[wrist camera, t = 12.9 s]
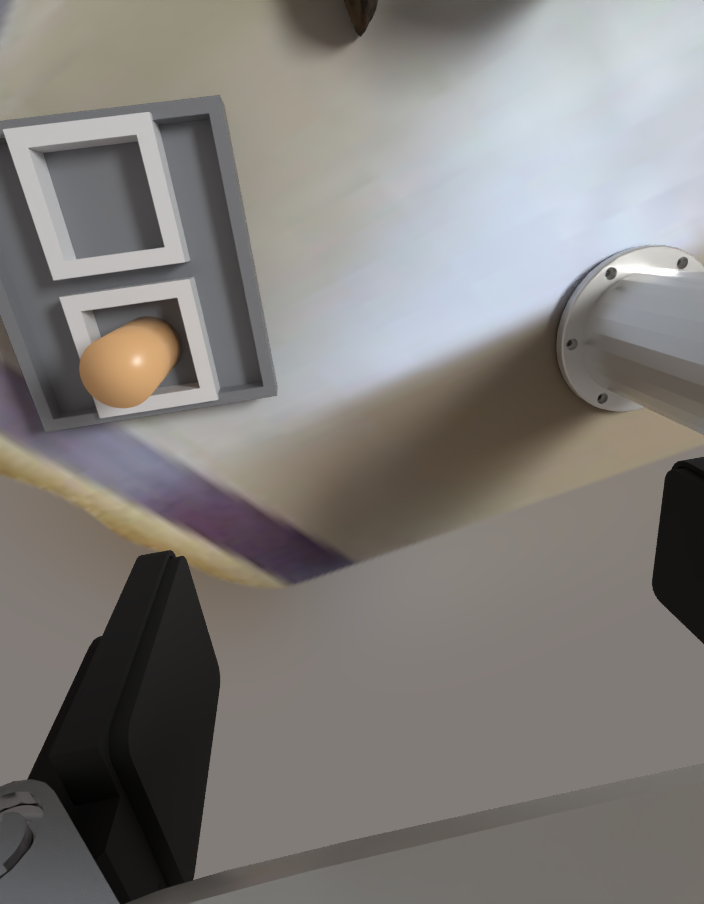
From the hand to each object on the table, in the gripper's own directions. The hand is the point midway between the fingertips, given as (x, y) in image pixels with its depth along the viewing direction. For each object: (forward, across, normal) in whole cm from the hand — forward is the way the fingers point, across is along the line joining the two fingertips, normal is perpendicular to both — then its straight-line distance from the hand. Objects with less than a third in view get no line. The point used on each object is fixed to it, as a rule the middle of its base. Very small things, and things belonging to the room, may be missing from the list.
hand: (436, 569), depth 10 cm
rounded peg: (+29, +12, 0) cm, 32 cm away
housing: (+30, +12, -5) cm, 33 cm away
